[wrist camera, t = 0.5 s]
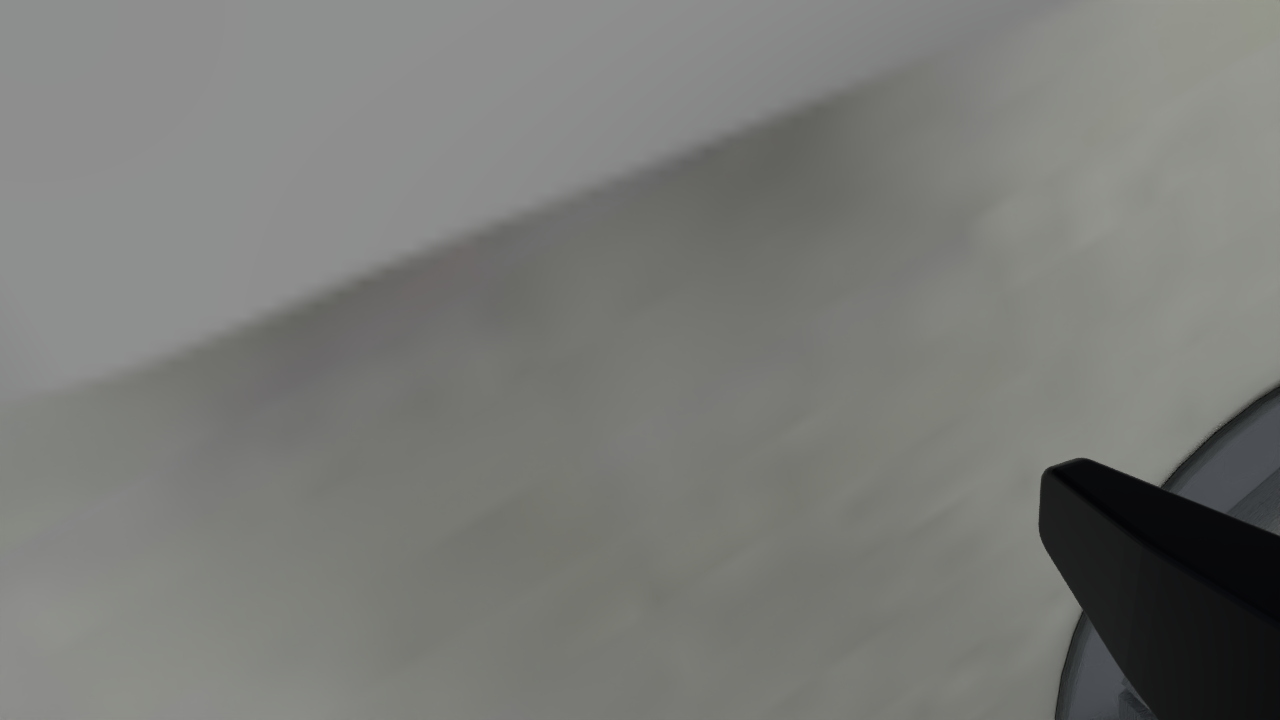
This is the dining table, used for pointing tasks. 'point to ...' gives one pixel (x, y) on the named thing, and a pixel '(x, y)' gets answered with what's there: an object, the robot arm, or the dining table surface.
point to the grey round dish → (1218, 478)
